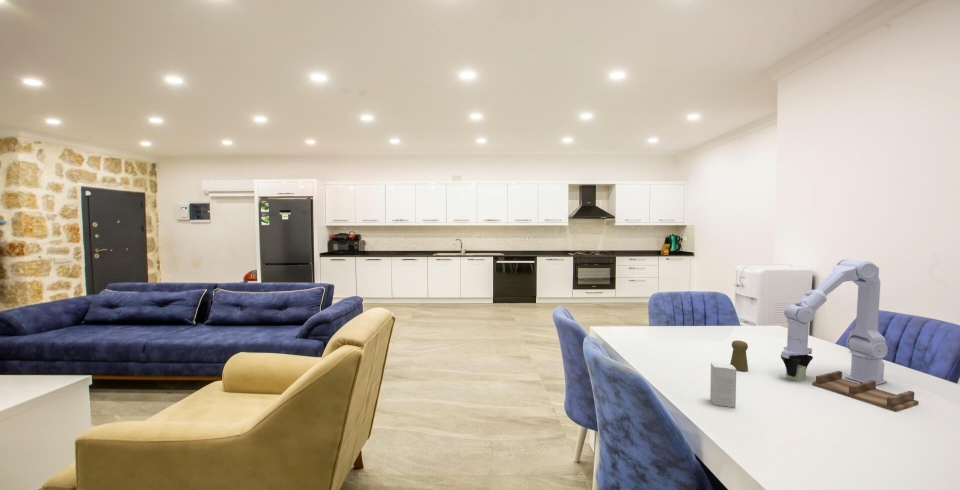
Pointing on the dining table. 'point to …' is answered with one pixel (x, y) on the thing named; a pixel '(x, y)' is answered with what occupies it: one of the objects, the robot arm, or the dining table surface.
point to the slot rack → (865, 392)
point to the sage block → (798, 374)
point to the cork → (739, 356)
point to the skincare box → (723, 385)
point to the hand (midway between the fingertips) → (795, 374)
